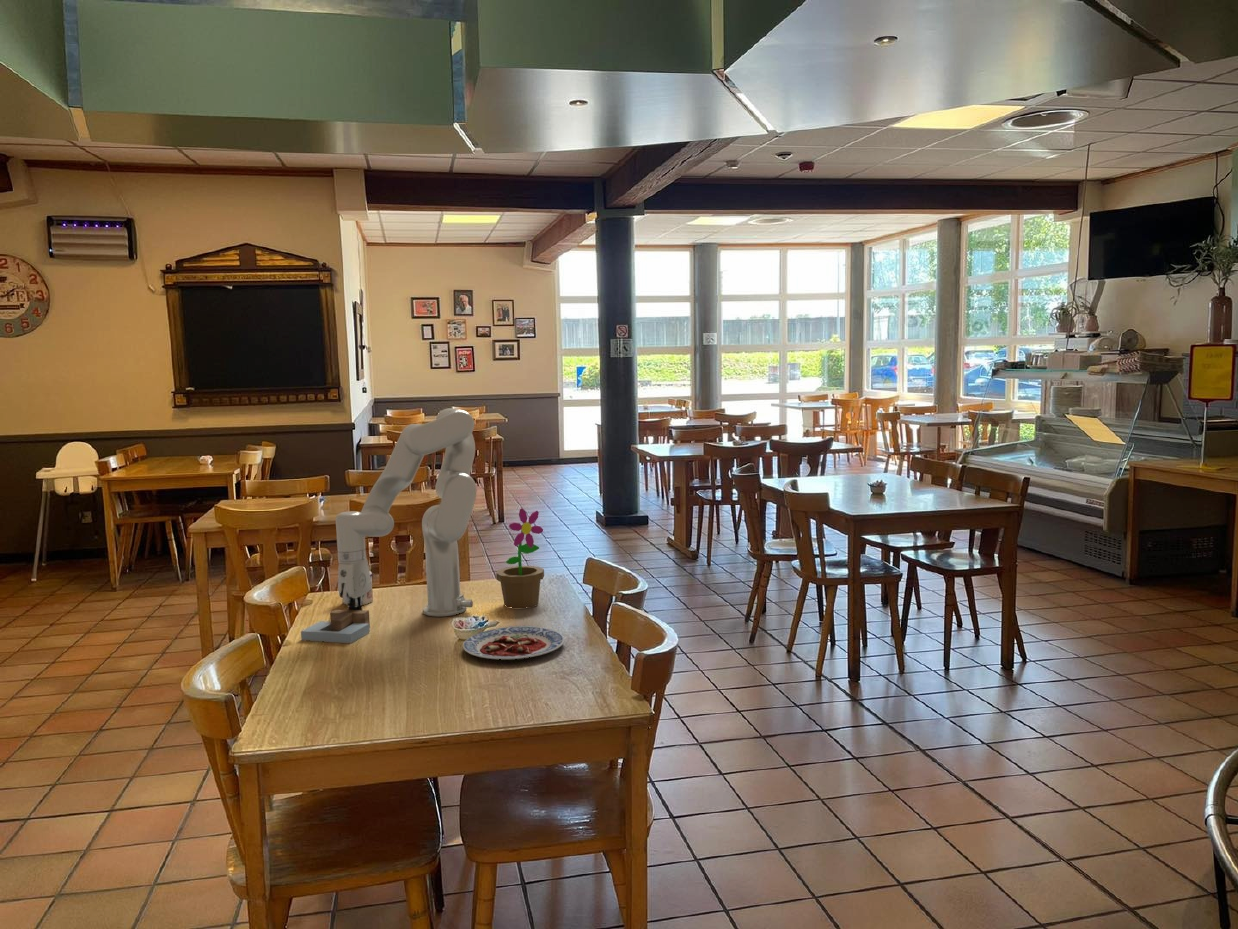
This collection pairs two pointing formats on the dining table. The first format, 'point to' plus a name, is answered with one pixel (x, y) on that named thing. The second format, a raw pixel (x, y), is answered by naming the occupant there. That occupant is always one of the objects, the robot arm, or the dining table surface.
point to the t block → (348, 618)
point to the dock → (334, 632)
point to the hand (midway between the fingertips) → (356, 619)
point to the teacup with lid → (368, 594)
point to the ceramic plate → (513, 643)
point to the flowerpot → (522, 568)
